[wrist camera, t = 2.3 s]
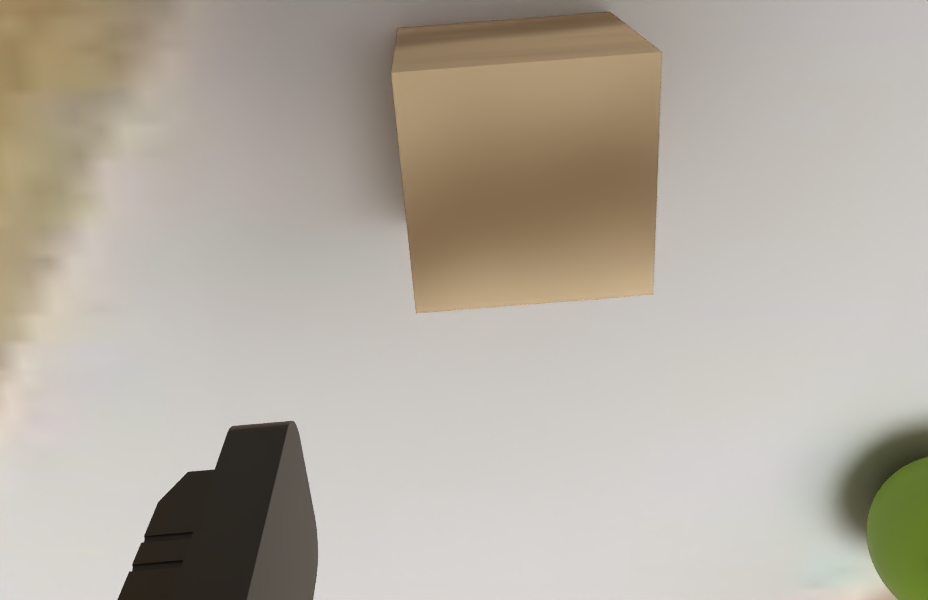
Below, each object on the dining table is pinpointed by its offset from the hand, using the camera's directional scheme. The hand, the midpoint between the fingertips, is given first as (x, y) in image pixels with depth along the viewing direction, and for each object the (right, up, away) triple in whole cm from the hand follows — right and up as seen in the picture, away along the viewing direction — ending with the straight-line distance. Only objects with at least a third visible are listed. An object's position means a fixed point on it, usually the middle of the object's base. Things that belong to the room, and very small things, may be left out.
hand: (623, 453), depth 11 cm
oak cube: (-1, +7, +13) cm, 15 cm away
